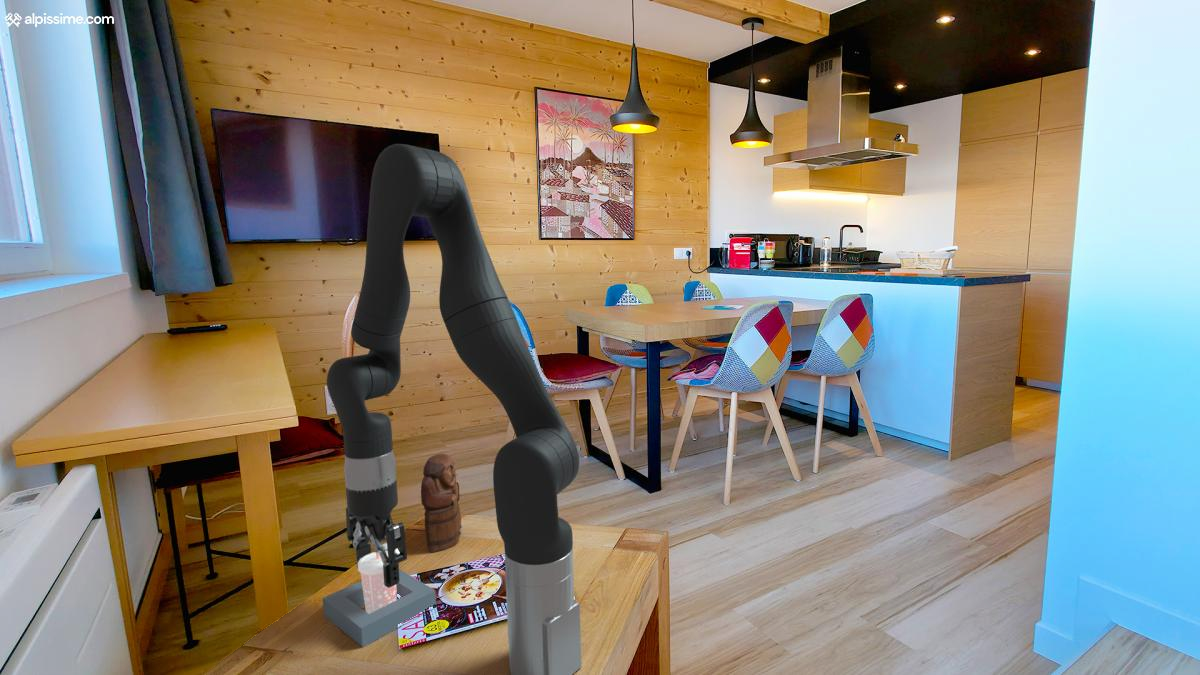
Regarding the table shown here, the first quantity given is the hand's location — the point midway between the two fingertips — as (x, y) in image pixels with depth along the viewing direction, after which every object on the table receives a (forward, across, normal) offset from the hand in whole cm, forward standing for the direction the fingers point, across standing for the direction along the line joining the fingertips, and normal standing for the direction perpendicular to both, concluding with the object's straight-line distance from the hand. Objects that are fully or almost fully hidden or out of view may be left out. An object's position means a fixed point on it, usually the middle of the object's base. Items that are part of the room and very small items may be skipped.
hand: (378, 576), depth 92 cm
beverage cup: (+6, 0, 0) cm, 6 cm away
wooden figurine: (+6, +13, -22) cm, 26 cm away
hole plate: (+6, 0, 0) cm, 6 cm away
